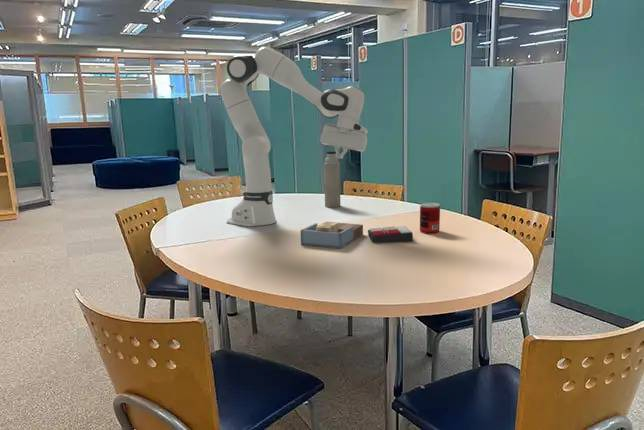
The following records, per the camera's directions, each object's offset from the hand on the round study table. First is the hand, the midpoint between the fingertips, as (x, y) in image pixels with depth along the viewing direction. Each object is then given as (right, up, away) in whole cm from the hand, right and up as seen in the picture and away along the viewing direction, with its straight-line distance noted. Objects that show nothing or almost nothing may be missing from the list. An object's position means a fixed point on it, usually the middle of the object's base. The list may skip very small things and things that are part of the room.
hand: (338, 158), depth 209 cm
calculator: (+19, -34, -19) cm, 43 cm away
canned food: (+36, -31, -10) cm, 48 cm away
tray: (-5, -34, -23) cm, 41 cm away
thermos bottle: (-2, -20, +47) cm, 51 cm away
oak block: (-3, -30, -20) cm, 36 cm away
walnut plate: (0, -32, -13) cm, 35 cm away
